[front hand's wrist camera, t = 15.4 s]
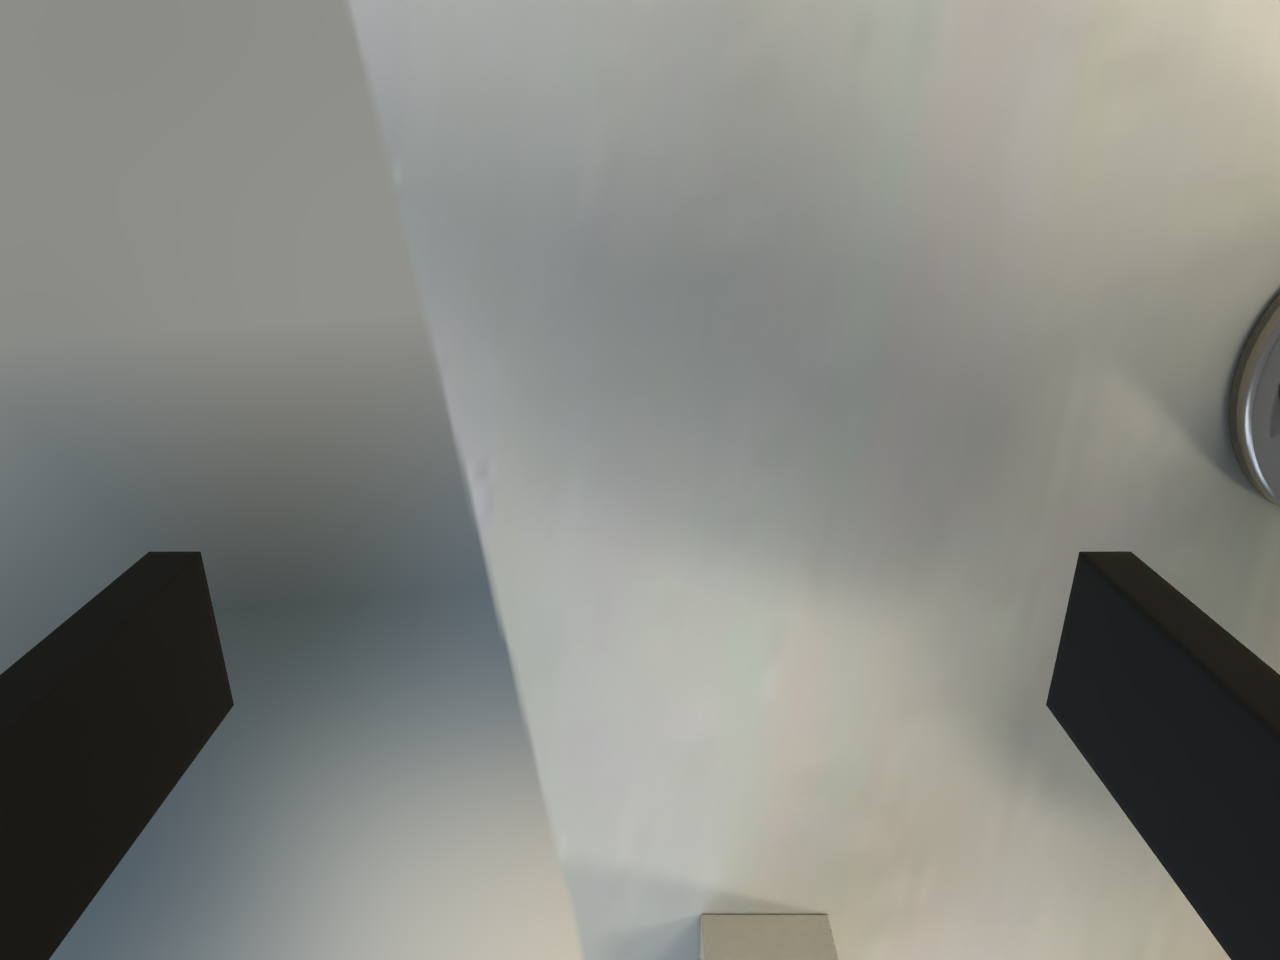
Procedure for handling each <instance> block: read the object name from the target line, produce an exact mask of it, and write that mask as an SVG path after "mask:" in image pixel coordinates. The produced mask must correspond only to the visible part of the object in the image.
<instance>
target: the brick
mask: <svg viewBox="0 0 1280 960" xmlns="http://www.w3.org/2000/svg"><path fill="white" fill-rule="evenodd" d="M700 960H838V956H837V952H836V947H835V943H834V939H833V935H832V931H831V927H830V923H829V919H828V915H701V936H700Z"/></svg>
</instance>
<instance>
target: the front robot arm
mask: <svg viewBox="0 0 1280 960" xmlns="http://www.w3.org/2000/svg"><path fill="white" fill-rule="evenodd" d="M1229 425H1230V435H1231V440H1232V444H1233V448H1234V451H1235V454H1236V457H1237V460H1238V462H1239V464H1240V466H1241V468H1242V470H1243V472H1244V473H1245V475H1246V476H1247V478H1248V479H1249V481H1250V482H1251V483H1252V484H1253V485H1254V486H1255V488H1256V489H1257V490H1258V491H1259V492H1260V493H1261V494H1262V495H1264V496H1265V497H1266V498H1267V499H1268V500H1270V501H1271V502H1273V503H1274V504H1276V505H1277V506H1279V507H1280V294H1279V295H1278V296H1277V297H1276V299H1275V300H1274V301H1273V303H1272V304H1271V305H1270V306H1269V308H1268V309H1267V310H1266V312H1265V313H1264V315H1263V316H1262V318H1261V319H1260V321H1259V322H1258V324H1257V326H1256V327H1255V329H1254V331H1253V332H1252V334H1251V336H1250V338H1249V340H1248V342H1247V344H1246V346H1245V348H1244V351H1243V353H1242V355H1241V358H1240V360H1239V363H1238V366H1237V369H1236V373H1235V376H1234V380H1233V385H1232V389H1231V396H1230V404H1229ZM233 705H234V704H233V699H232V695H231V690H230V685H229V681H228V676H227V672H226V667H225V662H224V658H223V653H222V649H221V644H220V639H219V635H218V630H217V626H216V621H215V617H214V612H213V607H212V602H211V598H210V593H209V589H208V584H207V579H206V575H205V570H204V565H203V561H202V556H201V552H148V553H147V554H146V555H145V556H144V557H142V558H141V559H140V560H139V561H138V562H136V563H135V564H134V565H133V566H132V567H130V568H129V569H128V570H127V571H125V572H124V573H123V574H122V575H121V576H119V577H118V578H117V579H116V580H115V581H113V582H112V583H111V584H110V585H109V586H107V587H106V588H105V589H104V590H103V591H101V592H100V593H99V594H98V595H96V596H95V597H94V598H93V599H92V600H90V601H89V602H88V603H87V604H86V605H84V606H83V607H82V608H81V609H80V610H78V611H77V612H76V613H75V614H74V615H72V616H71V617H70V618H69V619H67V620H66V621H65V622H64V623H63V624H61V625H60V626H59V627H58V628H57V629H55V630H54V631H53V632H52V633H51V634H49V635H48V636H47V637H46V638H45V639H43V640H42V641H41V642H40V643H39V644H37V645H36V646H35V647H34V648H33V649H31V650H30V651H29V652H28V653H26V654H25V655H24V656H23V657H22V658H20V659H19V660H18V661H17V662H16V663H14V664H13V665H12V666H11V667H10V668H8V669H7V670H6V671H5V672H4V673H2V674H1V675H0V960H49V959H50V957H51V956H52V954H53V953H54V952H55V950H56V949H57V948H58V946H59V945H60V943H61V942H62V941H63V939H64V938H65V937H66V935H67V934H68V932H69V931H70V930H71V928H72V927H73V926H74V924H75V923H76V921H77V920H78V919H79V917H80V916H81V914H82V913H83V912H84V910H85V909H86V908H87V906H88V905H89V903H90V902H91V901H92V899H93V898H94V897H95V895H96V894H97V892H98V891H99V890H100V888H101V887H102V885H103V884H104V883H105V881H106V880H107V879H108V877H109V876H110V875H111V873H112V872H113V870H114V869H115V868H116V866H117V865H118V864H119V862H120V861H121V859H122V858H123V857H124V855H125V854H126V853H127V851H128V850H129V848H130V847H131V846H132V844H133V843H134V841H135V840H136V839H137V837H138V836H139V835H140V833H141V832H142V830H143V829H144V828H145V826H146V825H147V824H148V822H149V821H150V819H151V818H152V817H153V815H154V814H155V813H156V811H157V810H158V808H159V807H160V806H161V804H162V803H163V802H164V800H165V799H166V797H167V796H168V795H169V793H170V792H171V791H172V789H173V788H174V786H175V785H176V784H177V782H178V781H179V779H180V778H181V777H182V775H183V774H184V773H185V771H186V770H187V769H188V767H189V766H190V764H191V763H192V762H193V760H194V759H195V758H196V756H197V755H198V753H199V752H200V751H201V749H202V748H203V746H204V745H205V744H206V742H207V741H208V740H209V738H210V737H211V735H212V734H213V733H214V731H215V730H216V729H217V727H218V726H219V724H220V723H221V722H222V720H223V719H224V717H225V716H226V715H227V713H228V712H229V711H230V709H231V708H232V707H233ZM1046 705H1047V707H1048V708H1049V709H1050V711H1051V712H1052V713H1053V715H1054V716H1055V718H1056V719H1057V720H1058V722H1059V723H1060V724H1061V726H1062V727H1063V729H1064V730H1065V731H1066V733H1067V734H1068V735H1069V737H1070V738H1071V740H1072V741H1073V742H1074V744H1075V745H1076V747H1077V748H1078V749H1079V751H1080V752H1081V753H1082V755H1083V756H1084V758H1085V759H1086V760H1087V762H1088V763H1089V764H1090V766H1091V767H1092V769H1093V770H1094V771H1095V773H1096V774H1097V775H1098V777H1099V778H1100V780H1101V781H1102V782H1103V784H1104V785H1105V786H1106V788H1107V789H1108V791H1109V792H1110V793H1111V795H1112V796H1113V797H1114V799H1115V800H1116V802H1117V803H1118V804H1119V806H1120V807H1121V808H1122V810H1123V811H1124V813H1125V814H1126V815H1127V817H1128V818H1129V819H1130V821H1131V822H1132V824H1133V825H1134V826H1135V828H1136V829H1137V831H1138V832H1139V833H1140V835H1141V836H1142V837H1143V839H1144V840H1145V842H1146V843H1147V844H1148V846H1149V847H1150V848H1151V850H1152V851H1153V853H1154V854H1155V855H1156V857H1157V858H1158V859H1159V861H1160V862H1161V864H1162V865H1163V866H1164V868H1165V869H1166V870H1167V872H1168V873H1169V875H1170V876H1171V877H1172V879H1173V880H1174V881H1175V883H1176V884H1177V886H1178V887H1179V888H1180V890H1181V891H1182V892H1183V894H1184V895H1185V897H1186V898H1187V899H1188V901H1189V902H1190V903H1191V905H1192V906H1193V908H1194V909H1195V910H1196V912H1197V913H1198V915H1199V916H1200V917H1201V919H1202V920H1203V921H1204V923H1205V924H1206V926H1207V927H1208V928H1209V930H1210V931H1211V932H1212V934H1213V935H1214V937H1215V938H1216V939H1217V941H1218V942H1219V943H1220V945H1221V946H1222V948H1223V949H1224V950H1225V952H1226V953H1227V954H1228V956H1229V957H1230V959H1231V960H1280V675H1279V674H1278V673H1277V672H1275V671H1274V670H1273V669H1272V668H1270V667H1269V666H1268V665H1267V664H1266V663H1264V662H1263V661H1262V660H1261V659H1260V658H1258V657H1257V656H1256V655H1255V654H1254V653H1252V652H1251V651H1250V650H1249V649H1248V648H1246V647H1245V646H1244V645H1243V644H1241V643H1240V642H1239V641H1238V640H1237V639H1235V638H1234V637H1233V636H1232V635H1231V634H1229V633H1228V632H1227V631H1226V630H1225V629H1223V628H1222V627H1221V626H1220V625H1219V624H1217V623H1216V622H1215V621H1214V620H1213V619H1211V618H1210V617H1209V616H1208V615H1206V614H1205V613H1204V612H1203V611H1202V610H1200V609H1199V608H1198V607H1197V606H1196V605H1194V604H1193V603H1192V602H1191V601H1190V600H1188V599H1187V598H1186V597H1185V596H1184V595H1182V594H1181V593H1180V592H1179V591H1177V590H1176V589H1175V588H1174V587H1173V586H1171V585H1170V584H1169V583H1168V582H1167V581H1165V580H1164V579H1163V578H1162V577H1161V576H1159V575H1158V574H1157V573H1156V572H1155V571H1153V570H1152V569H1151V568H1150V567H1149V566H1147V565H1146V564H1145V563H1144V562H1142V561H1141V560H1140V559H1139V558H1138V557H1136V556H1135V555H1134V554H1133V553H1132V552H1079V556H1078V561H1077V565H1076V570H1075V575H1074V579H1073V584H1072V589H1071V593H1070V598H1069V602H1068V607H1067V612H1066V616H1065V621H1064V625H1063V630H1062V635H1061V639H1060V644H1059V649H1058V653H1057V658H1056V662H1055V667H1054V672H1053V676H1052V681H1051V685H1050V690H1049V695H1048V699H1047V704H1046Z"/></svg>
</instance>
